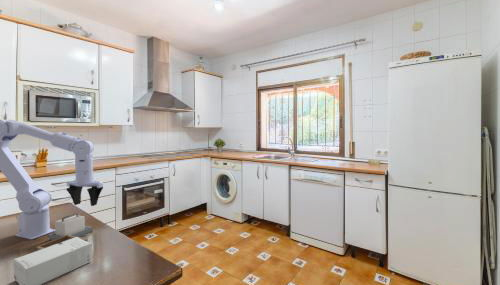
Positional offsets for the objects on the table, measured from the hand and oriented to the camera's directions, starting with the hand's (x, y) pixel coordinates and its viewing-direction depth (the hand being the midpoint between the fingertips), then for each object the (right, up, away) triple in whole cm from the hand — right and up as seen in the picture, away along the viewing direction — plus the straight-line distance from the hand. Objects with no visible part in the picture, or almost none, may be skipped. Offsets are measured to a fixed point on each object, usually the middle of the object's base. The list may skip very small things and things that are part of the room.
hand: (85, 204), depth 93 cm
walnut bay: (+6, -10, -18) cm, 22 cm away
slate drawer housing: (0, -10, -7) cm, 12 cm away
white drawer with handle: (-1, -9, -7) cm, 12 cm away
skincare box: (+15, -8, -22) cm, 28 cm away
